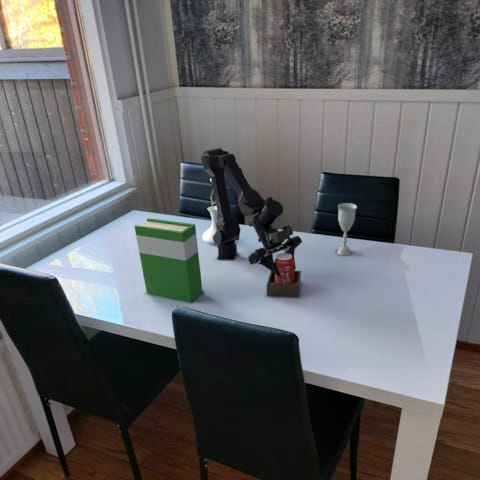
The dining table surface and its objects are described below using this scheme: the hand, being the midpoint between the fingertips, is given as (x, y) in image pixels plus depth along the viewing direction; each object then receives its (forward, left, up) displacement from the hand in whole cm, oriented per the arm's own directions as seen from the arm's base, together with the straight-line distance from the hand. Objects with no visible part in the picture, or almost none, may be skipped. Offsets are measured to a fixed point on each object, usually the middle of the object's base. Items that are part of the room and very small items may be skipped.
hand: (287, 272), depth 151 cm
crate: (-1, +1, -7) cm, 7 cm away
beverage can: (-1, +1, -7) cm, 7 cm away
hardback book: (-38, -5, -7) cm, 38 cm away
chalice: (+18, +31, -7) cm, 37 cm away
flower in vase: (-34, +41, -7) cm, 54 cm away
